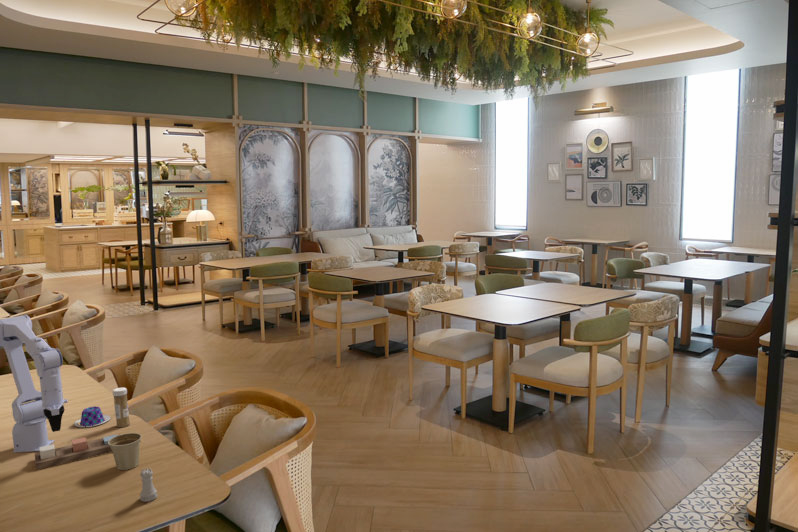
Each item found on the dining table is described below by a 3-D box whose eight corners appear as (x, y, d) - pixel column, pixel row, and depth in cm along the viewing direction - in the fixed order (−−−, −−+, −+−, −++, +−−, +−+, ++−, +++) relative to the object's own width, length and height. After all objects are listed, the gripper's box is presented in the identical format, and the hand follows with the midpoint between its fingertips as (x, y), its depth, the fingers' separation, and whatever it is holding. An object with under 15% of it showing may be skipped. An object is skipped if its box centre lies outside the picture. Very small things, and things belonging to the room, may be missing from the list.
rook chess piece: (143, 494, 170) (140, 467, 169) (159, 493, 170) (157, 466, 169) (137, 503, 165) (134, 474, 164) (154, 501, 166) (152, 473, 165)
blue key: (105, 450, 200) (104, 441, 199) (103, 445, 203) (102, 437, 203) (118, 447, 202) (117, 438, 202) (117, 442, 205) (116, 434, 205)
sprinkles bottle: (131, 425, 221) (127, 389, 219) (117, 428, 218) (113, 392, 216) (128, 421, 224) (125, 386, 223) (115, 424, 222) (111, 388, 220)
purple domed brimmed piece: (66, 427, 222) (64, 413, 222) (92, 415, 233) (91, 401, 233) (92, 430, 218) (91, 416, 218) (118, 418, 230) (116, 404, 229)
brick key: (73, 453, 195) (72, 444, 195) (72, 448, 198) (71, 440, 198) (87, 449, 197) (86, 441, 197) (86, 445, 200) (85, 437, 200)
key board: (36, 469, 188) (35, 463, 187) (35, 459, 195) (34, 453, 195) (125, 449, 201) (124, 443, 200) (120, 439, 208) (120, 434, 208)
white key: (40, 460, 190) (39, 451, 190) (40, 456, 194) (39, 447, 193) (55, 457, 192) (54, 448, 192) (54, 452, 196) (53, 444, 195)
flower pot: (111, 476, 182) (108, 448, 181) (109, 463, 190) (107, 437, 189) (145, 468, 186) (143, 441, 185) (142, 456, 194) (140, 430, 193)
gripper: (68, 392, 188) (72, 434, 190) (64, 380, 200) (68, 420, 202) (41, 397, 184) (46, 440, 186) (38, 384, 196) (43, 425, 198)
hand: (56, 430), depth 194 cm, fingers closed
